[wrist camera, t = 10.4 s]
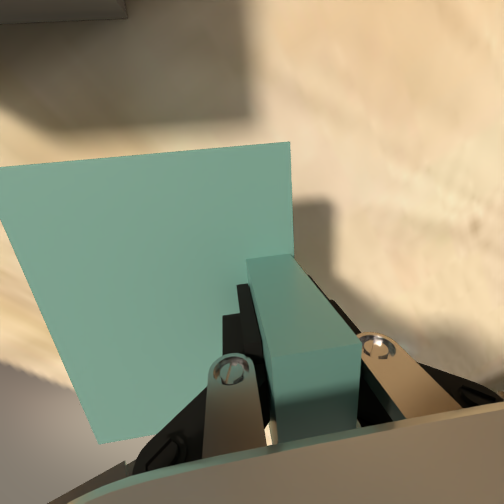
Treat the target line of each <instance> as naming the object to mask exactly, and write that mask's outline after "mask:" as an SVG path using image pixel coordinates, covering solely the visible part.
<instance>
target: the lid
mask: <svg viewBox="0 0 504 504" xmlns="http://www.w3.org/2000/svg"><path fill="white" fill-rule="evenodd" d="M0 220H1V222H2V224H3V227H4V229H5V231H6V233H7V236H8V238H9V240H10V243H11V245H12V247H13V249H14V252H15V254H16V256H17V259H18V261H19V263H20V265H21V268H22V270H23V272H24V275H25V277H26V279H27V281H28V284H29V286H30V288H31V291H32V293H33V295H34V298H35V300H36V302H37V304H38V307H39V309H40V311H41V314H42V316H43V318H44V320H45V323H46V325H47V327H48V330H49V332H50V334H51V336H52V339H53V341H54V343H55V346H56V348H57V350H58V352H59V355H60V357H61V359H62V362H63V364H64V366H65V368H66V371H67V373H68V375H69V378H70V380H71V382H72V385H73V387H74V389H75V391H76V394H77V396H78V398H79V400H80V403H81V405H82V407H83V410H84V412H85V414H86V416H87V419H88V421H89V423H90V426H91V428H92V430H93V433H94V435H95V437H96V439H97V441H98V444H104V443H109V442H115V441H121V440H127V439H132V438H138V437H143V436H149V435H155V434H157V433H159V432H160V431H161V430H162V429H163V428H164V427H165V426H166V425H167V424H168V423H169V422H170V421H171V420H172V419H173V418H174V417H175V416H176V415H177V414H178V413H179V412H181V411H182V410H183V409H184V408H185V407H186V406H187V405H188V404H189V403H190V402H191V401H192V400H193V399H194V398H195V397H196V396H197V395H198V394H199V393H200V392H202V391H203V390H204V389H205V388H206V387H207V382H208V372H209V368H210V367H211V365H212V364H213V362H214V361H216V360H217V359H218V358H220V357H221V356H222V316H223V315H229V314H236V313H240V310H239V302H238V294H237V286H236V285H239V284H246V283H248V285H249V287H250V291H251V295H252V300H253V304H254V308H255V312H256V317H257V321H258V325H259V330H260V334H261V339H262V346H263V355H264V366H265V373H266V378H267V388H268V399H269V410H270V422H269V428H270V434H271V439H272V445H274V444H279V443H285V442H290V441H295V440H300V439H305V438H310V437H315V436H320V435H326V434H331V433H336V432H341V431H346V430H352V429H356V424H357V410H358V396H359V382H360V368H361V354H362V342H361V341H360V340H359V338H358V337H357V336H356V335H355V333H354V332H353V331H352V330H351V328H350V327H349V326H348V325H347V324H346V322H345V321H344V320H343V319H342V317H341V316H340V315H339V314H338V312H337V311H336V310H335V309H334V308H333V306H332V305H331V304H330V303H329V301H328V300H327V299H326V298H325V296H324V295H323V294H322V293H321V292H320V290H319V289H318V288H317V287H316V285H315V284H314V283H313V282H312V280H311V279H310V278H309V277H308V275H307V274H306V273H305V272H304V271H303V269H302V268H301V267H300V266H299V264H298V263H297V262H296V261H295V259H294V238H293V210H292V182H291V154H290V142H279V143H268V144H257V145H245V146H234V147H223V148H212V149H200V150H189V151H178V152H166V153H155V154H144V155H132V156H121V157H110V158H98V159H87V160H76V161H65V162H53V163H42V164H31V165H19V166H8V167H0Z"/></svg>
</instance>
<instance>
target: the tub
mask: <svg viewBox="0 0 504 504" xmlns="http://www.w3.org/2000/svg"><path fill="white" fill-rule="evenodd" d="M124 18H128V17H127V12H126V8H125V3H124V0H0V24H13V23H35V22H58V21H80V20H102V19H124Z"/></svg>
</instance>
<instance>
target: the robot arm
mask: <svg viewBox="0 0 504 504" xmlns="http://www.w3.org/2000/svg"><path fill="white" fill-rule="evenodd" d="M308 277H309V278H310V279H311V280H312V282H313V283H314V284H315V285H316V287H317V288H318V289H319V290H320V292H321V293H322V294H323V295H324V296H325V298H326V299H327V300H328V301H329V303H330V304H331V305H332V306H333V308H334V309H335V310H336V311H337V312H338V314H339V315H340V316H341V317H342V319H343V320H344V321H345V322H346V324H347V325H348V326H349V327H350V328H351V330H352V331H353V332H354V333H355V335H356V336H357V337H358V338H359V340H360V341H361V342H362V354H361V368H360V382H359V396H358V410H357V424H356V429H352V430H346V431H341V432H336V433H331V434H326V435H320V436H315V437H310V438H305V439H300V440H295V441H290V442H285V443H279V444H274V445H269V446H267V444H266V437H265V431H264V429H265V427H266V426H267V424H268V423H269V422H270V410H269V399H268V388H267V378H266V373H265V366H264V355H263V346H262V339H261V334H260V330H259V325H258V321H257V317H256V312H255V308H254V304H253V300H252V295H251V291H250V287H249V285H248V283H246V284H239V285H236V286H237V294H238V302H239V310H240V313H236V314H229V315H223V316H222V356H221V357H220V358H218V359H217V360H216V361H214V362H213V364H212V365H211V367H210V368H209V372H208V382H207V387H206V388H205V389H204V390H203V391H202V392H200V393H199V394H198V395H197V396H196V397H195V398H194V399H193V400H192V401H191V402H190V403H189V404H188V405H187V406H186V407H185V408H184V409H183V410H182V411H181V412H179V413H178V414H177V415H176V416H175V417H174V418H173V419H172V420H171V421H170V422H169V423H168V424H167V425H166V426H165V427H164V428H163V429H162V430H161V431H160V432H159V433H157V434H156V435H155V436H154V437H153V438H152V439H151V440H150V441H149V442H148V443H147V445H146V446H145V447H144V448H143V449H142V450H141V452H140V454H139V455H138V457H137V459H136V460H134V461H133V462H131V463H129V464H126V462H125V461H123V462H121V463H120V464H118V465H116V466H114V467H112V468H111V469H109V470H107V471H105V472H104V473H102V474H100V475H98V476H96V477H94V478H93V479H91V480H89V481H87V482H85V483H84V484H82V485H80V486H78V487H76V488H75V489H73V490H71V491H69V492H68V493H66V494H64V495H62V496H60V497H58V498H57V499H55V500H53V501H51V502H49V503H47V504H504V392H503V391H498V393H497V394H496V393H495V392H493V391H491V390H490V389H488V388H486V387H484V386H482V385H480V384H478V383H475V382H472V381H469V380H467V379H464V378H461V377H458V376H455V375H452V374H449V373H447V372H444V371H441V370H438V369H435V368H432V367H429V366H427V365H424V364H421V363H418V362H416V361H415V360H414V359H413V358H412V357H411V356H410V355H409V354H408V353H407V352H406V351H405V350H404V349H403V348H402V347H401V346H400V345H398V344H397V343H396V342H395V341H394V340H393V339H391V338H389V337H387V336H385V335H383V334H379V333H374V332H363V333H361V332H360V331H359V329H358V328H357V327H356V326H355V325H354V324H353V322H352V321H351V320H350V319H349V318H348V316H347V315H346V314H345V313H344V312H343V311H342V309H341V308H340V307H339V306H338V305H337V304H336V302H335V301H334V300H329V299H328V298H327V296H326V295H325V294H324V293H323V292H322V290H321V289H320V288H319V287H318V285H317V284H316V283H315V282H314V281H313V279H312V278H311V277H310V276H309V275H308Z"/></svg>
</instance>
